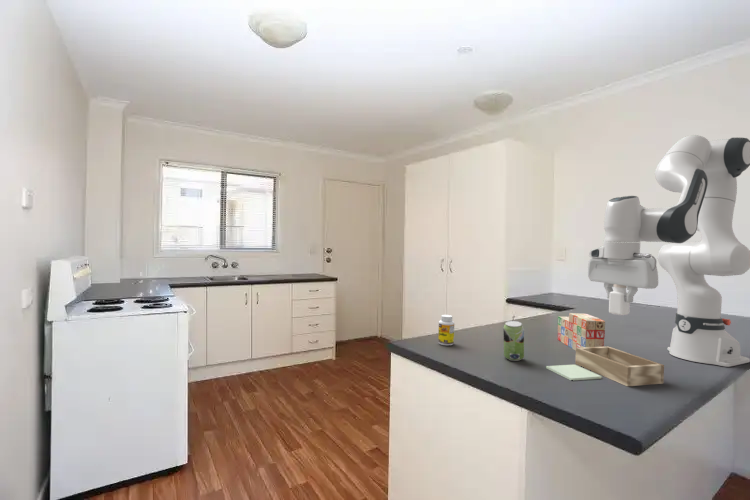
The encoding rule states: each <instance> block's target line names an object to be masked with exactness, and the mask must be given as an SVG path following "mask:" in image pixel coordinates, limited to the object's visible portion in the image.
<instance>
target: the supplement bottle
mask: <svg viewBox="0 0 750 500" xmlns="http://www.w3.org/2000/svg"><path fill="white" fill-rule="evenodd" d="M437 337H438V339H437V342H438V344H439V345H441V346H453V345H454V342H455V321H453V315H451V314H450V315H449V314H442V315H441V316H440V320H439V321H438V335H437Z"/></svg>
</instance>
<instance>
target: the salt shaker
mask: <svg viewBox="0 0 750 500" xmlns="http://www.w3.org/2000/svg"><path fill="white" fill-rule="evenodd" d="M612 288H613V292H610V294H609V299H608V313H609V314H612V315H617V316H627V315H628V316H629V314H630V310H631V308H630V307H631V302H630V303H629V302H625V301H624V296H626V295H627V293H628V291H627V286H624V285H617V284H613V287H612Z"/></svg>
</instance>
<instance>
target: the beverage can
mask: <svg viewBox="0 0 750 500" xmlns="http://www.w3.org/2000/svg"><path fill="white" fill-rule="evenodd" d="M503 356H504V357H505V358H506V359H507V360H509V361H512V362H518V361H521V360H522V359H524V358H525V328H524V325H523V323H522V322H520V321H517V320H507V321H506V322H505V324H504V326H503Z"/></svg>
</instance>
